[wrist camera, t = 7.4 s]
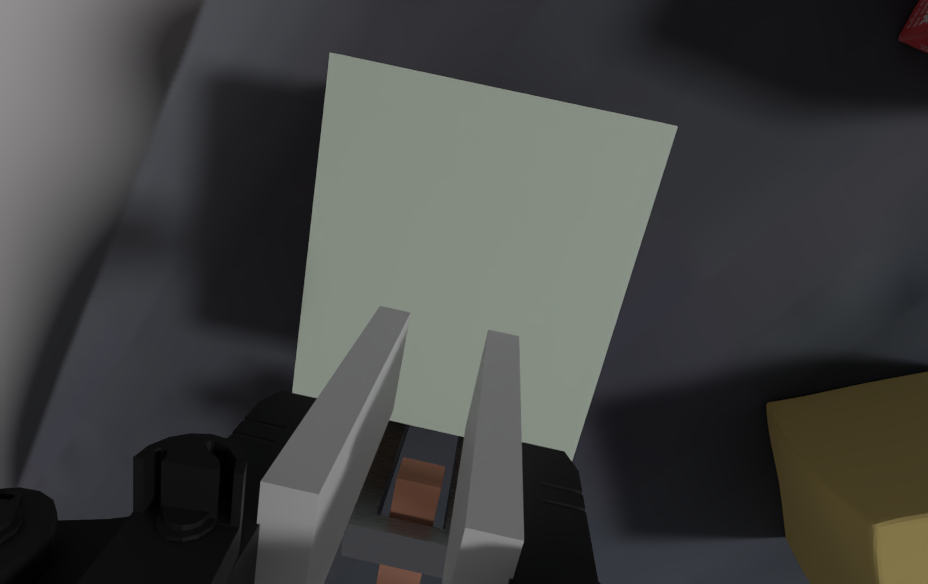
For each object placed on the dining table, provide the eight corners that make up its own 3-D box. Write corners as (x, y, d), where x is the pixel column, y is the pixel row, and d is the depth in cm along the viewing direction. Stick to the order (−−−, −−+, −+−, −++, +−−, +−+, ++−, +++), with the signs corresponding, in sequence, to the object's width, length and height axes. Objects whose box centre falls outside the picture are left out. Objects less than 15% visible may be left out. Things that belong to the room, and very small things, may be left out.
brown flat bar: (403, 457, 23) (396, 478, 22) (445, 466, 23) (441, 488, 22) (364, 659, 27) (356, 687, 26) (399, 667, 27) (393, 696, 26)
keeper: (402, 381, 32) (345, 523, 21) (483, 399, 32) (467, 550, 21) (398, 405, 33) (340, 555, 22) (477, 422, 32) (459, 582, 21)
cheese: (968, 512, 32) (1161, 683, 22) (772, 543, 33) (875, 713, 24) (964, 352, 29) (1185, 471, 19) (750, 394, 31) (857, 522, 21)
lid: (351, 59, 21) (329, 52, 19) (658, 124, 21) (677, 126, 18) (312, 370, 25) (291, 398, 23) (566, 426, 25) (572, 460, 23)
